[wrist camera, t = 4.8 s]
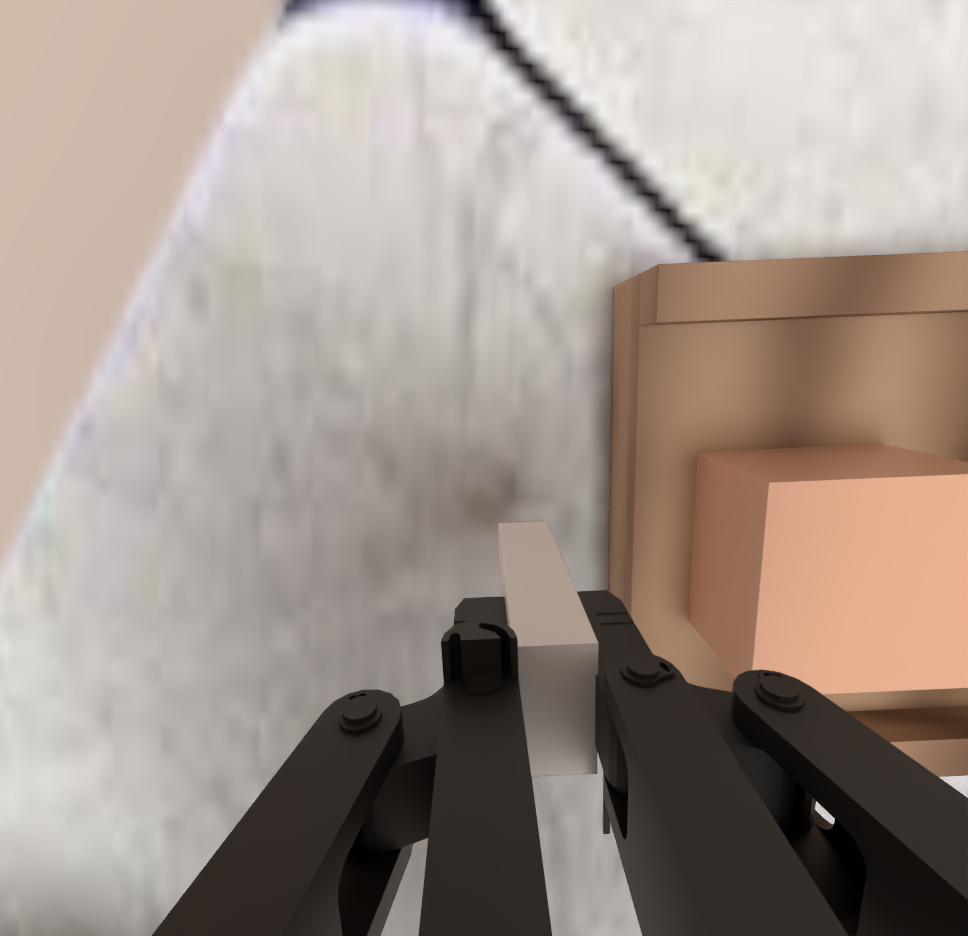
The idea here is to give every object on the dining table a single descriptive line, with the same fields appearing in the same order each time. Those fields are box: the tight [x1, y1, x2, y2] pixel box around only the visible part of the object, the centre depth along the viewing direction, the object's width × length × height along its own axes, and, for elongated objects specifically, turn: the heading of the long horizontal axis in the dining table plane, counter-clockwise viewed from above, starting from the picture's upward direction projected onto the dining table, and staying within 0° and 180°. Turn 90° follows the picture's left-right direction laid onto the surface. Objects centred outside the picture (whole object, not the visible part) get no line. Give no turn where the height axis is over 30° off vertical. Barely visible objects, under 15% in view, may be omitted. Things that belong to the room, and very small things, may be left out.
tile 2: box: [688, 444, 968, 694], centre depth 15 cm, size 6×6×4 cm
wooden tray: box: [609, 251, 968, 777], centre depth 17 cm, size 22×17×4 cm
